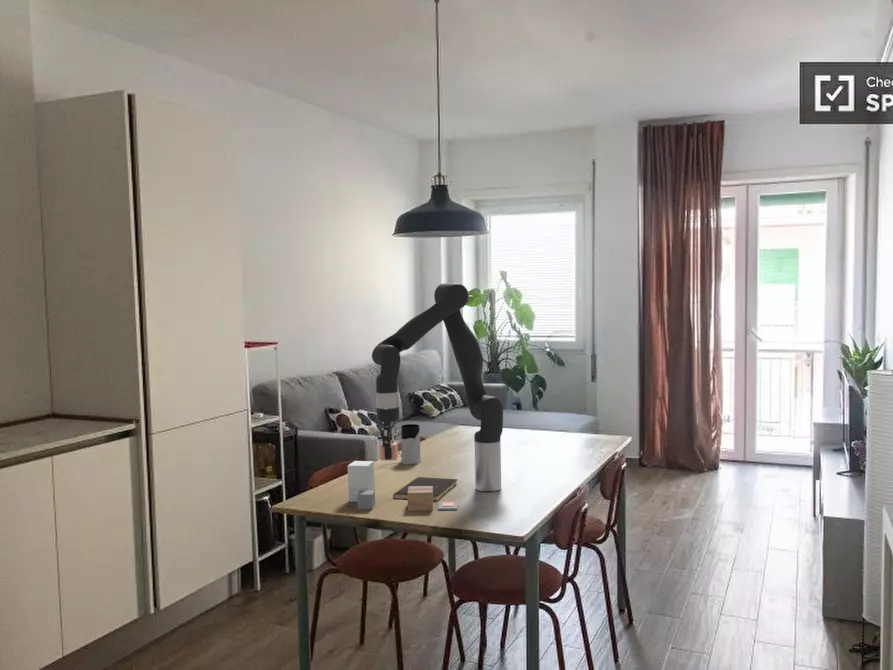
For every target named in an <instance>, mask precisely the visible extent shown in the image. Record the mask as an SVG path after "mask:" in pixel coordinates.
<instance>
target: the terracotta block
mask: <svg viewBox="0 0 893 670" xmlns="http://www.w3.org/2000/svg"><path fill="white" fill-rule="evenodd" d="M386 443H389V442H386ZM398 443H399V442H398V441H394V442H392V447H391V451H392V458H391V459H390V460H389V461H397V460H398V457H399V453H398V452H399V448H398V447H399V446H398ZM382 445H383V442H381V443H380V445H379V447H380V450H379V451H380V461H387V460H386V459H385V452H384V447H383V446H382Z"/></svg>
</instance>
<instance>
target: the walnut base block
mask: <svg viewBox="0 0 893 670" xmlns="http://www.w3.org/2000/svg"><path fill="white" fill-rule="evenodd" d="M408 510H420V511H433V510H434V501H433V486H409V488H408V499H407V511H408Z"/></svg>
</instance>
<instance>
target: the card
mask: <svg viewBox="0 0 893 670" xmlns="http://www.w3.org/2000/svg"><path fill="white" fill-rule="evenodd" d="M457 505H459V501H457V500H455V501H450V500H449V501H442V500H441V501H439V504H438V508H437V511H457V510H458V506H457Z"/></svg>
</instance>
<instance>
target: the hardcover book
mask: <svg viewBox="0 0 893 670" xmlns="http://www.w3.org/2000/svg"><path fill="white" fill-rule="evenodd" d="M457 481H458V478H442V477H441V478H440V477H425V476H424V477H423V476H417V477H415V479H413V480H411V481H410V482H409V483H407V484H406V485H404V486H403V487H401V488H400V489H399V490H397V491H396V492H394V493H393V495H392V497H398V498H397V499H404V498H408V488H409V486H433V500H437V499H438V498H439V499H441V496H442V495H443V494H444V493H445V492H446V493H448V492H449V491H450V490H451V489H452V488H454V487H455V486H456V485H457V483H458V482H457ZM455 484H456V485H455ZM454 485H455V486H454ZM453 486H454V487H453ZM451 487H452V488H451ZM450 488H451V489H450ZM449 489H450V490H449ZM448 490H449V491H448ZM447 491H448V492H447ZM446 493H445V494H446ZM445 494H444V495H445ZM444 495H443V496H444ZM443 496H442V497H443ZM399 497H400V498H399ZM439 499H438V500H439ZM438 500H437V501H438Z"/></svg>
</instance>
